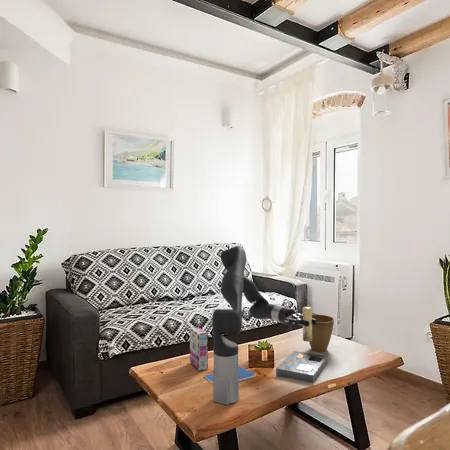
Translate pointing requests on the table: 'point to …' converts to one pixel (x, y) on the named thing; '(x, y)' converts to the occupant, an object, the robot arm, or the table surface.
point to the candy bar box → (199, 348)
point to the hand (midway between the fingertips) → (312, 323)
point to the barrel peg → (308, 330)
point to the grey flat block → (302, 366)
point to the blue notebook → (243, 374)
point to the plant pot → (321, 332)
